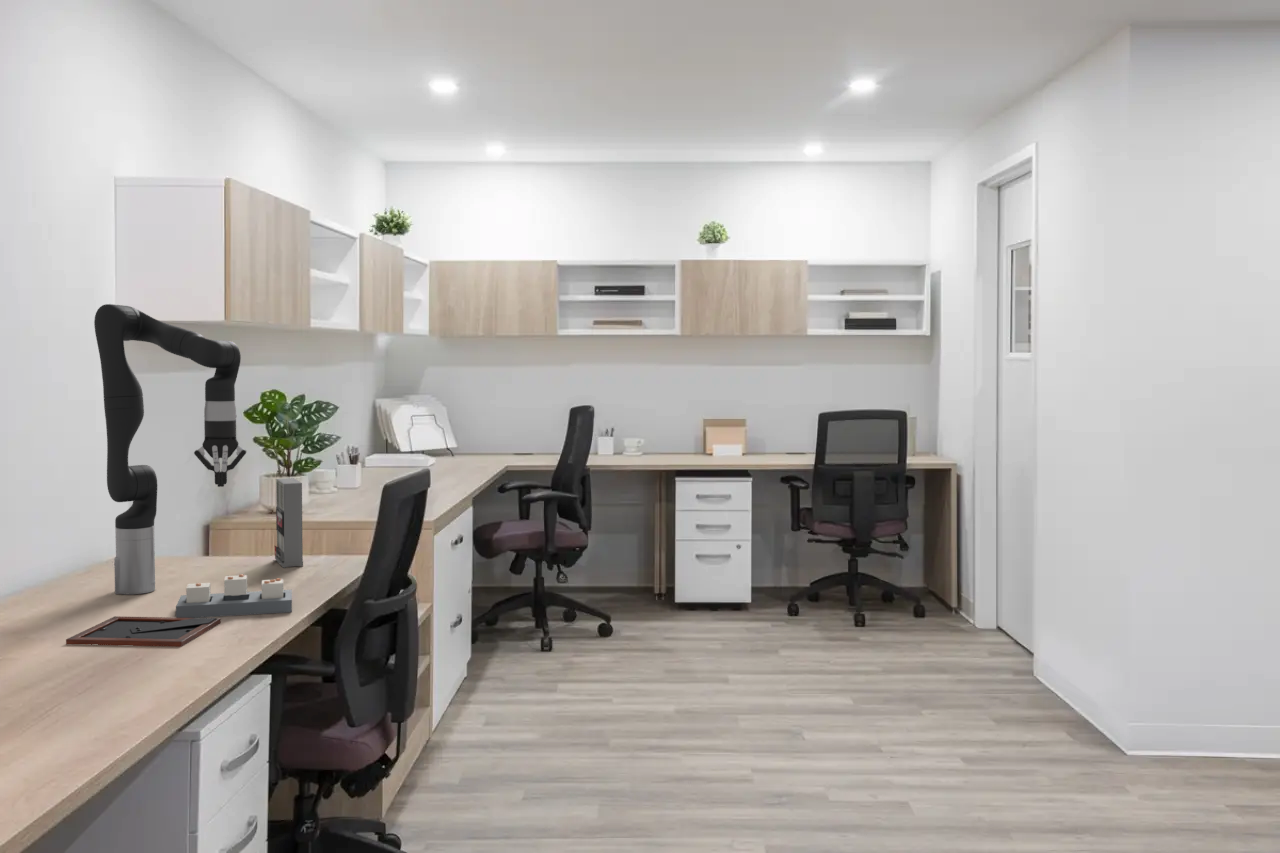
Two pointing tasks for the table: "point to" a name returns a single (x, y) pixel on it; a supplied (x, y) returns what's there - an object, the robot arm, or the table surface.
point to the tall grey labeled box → (289, 522)
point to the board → (234, 605)
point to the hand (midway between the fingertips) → (221, 486)
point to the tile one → (198, 592)
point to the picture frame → (145, 631)
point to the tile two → (235, 585)
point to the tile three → (272, 588)
